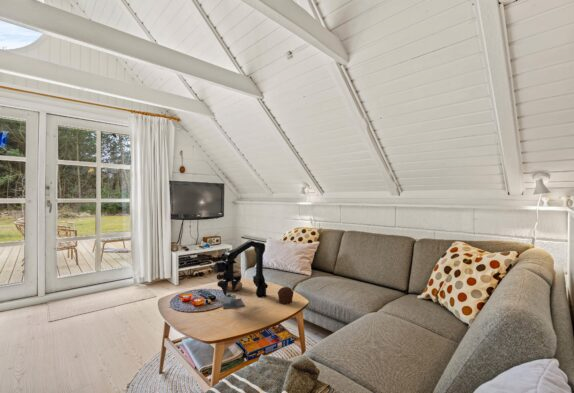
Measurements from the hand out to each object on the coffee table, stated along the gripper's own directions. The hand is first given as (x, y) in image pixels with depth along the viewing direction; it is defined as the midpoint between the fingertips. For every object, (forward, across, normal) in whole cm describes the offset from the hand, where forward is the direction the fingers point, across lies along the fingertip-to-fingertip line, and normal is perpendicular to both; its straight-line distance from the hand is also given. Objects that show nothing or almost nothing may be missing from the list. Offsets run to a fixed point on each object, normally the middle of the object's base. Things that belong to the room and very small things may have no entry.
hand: (229, 293), depth 196 cm
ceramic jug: (+8, -27, -15) cm, 32 cm away
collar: (+7, 0, 0) cm, 7 cm away
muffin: (+8, -21, +33) cm, 40 cm away
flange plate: (+8, -2, +2) cm, 8 cm away
